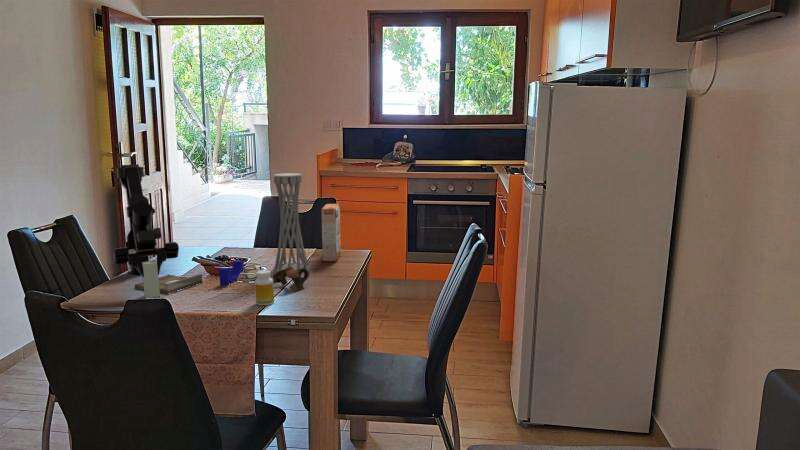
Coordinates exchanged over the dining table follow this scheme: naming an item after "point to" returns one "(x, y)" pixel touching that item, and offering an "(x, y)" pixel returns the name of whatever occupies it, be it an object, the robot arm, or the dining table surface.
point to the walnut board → (174, 283)
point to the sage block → (150, 279)
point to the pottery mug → (293, 274)
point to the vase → (289, 223)
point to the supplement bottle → (264, 288)
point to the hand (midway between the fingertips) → (150, 275)
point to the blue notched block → (230, 273)
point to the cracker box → (331, 232)
